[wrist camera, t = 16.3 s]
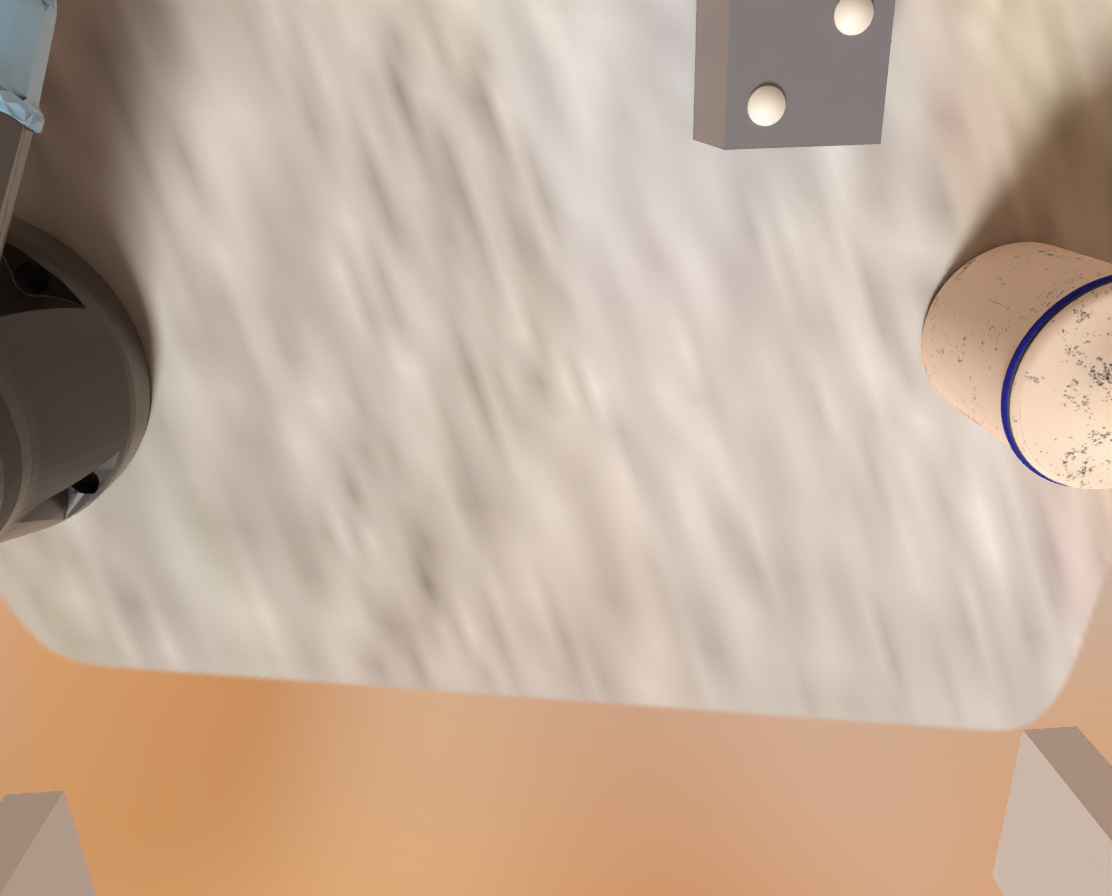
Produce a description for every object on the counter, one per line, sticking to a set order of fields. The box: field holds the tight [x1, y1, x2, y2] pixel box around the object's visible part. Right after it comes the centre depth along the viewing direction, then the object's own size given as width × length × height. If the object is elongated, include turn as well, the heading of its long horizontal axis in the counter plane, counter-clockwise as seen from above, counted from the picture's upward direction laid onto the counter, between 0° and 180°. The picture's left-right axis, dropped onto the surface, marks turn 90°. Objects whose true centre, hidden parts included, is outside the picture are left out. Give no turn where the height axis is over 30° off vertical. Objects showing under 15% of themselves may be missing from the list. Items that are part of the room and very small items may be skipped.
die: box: [693, 0, 895, 150], centre depth 36 cm, size 6×6×6 cm
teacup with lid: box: [921, 242, 1112, 489], centre depth 38 cm, size 12×9×12 cm
